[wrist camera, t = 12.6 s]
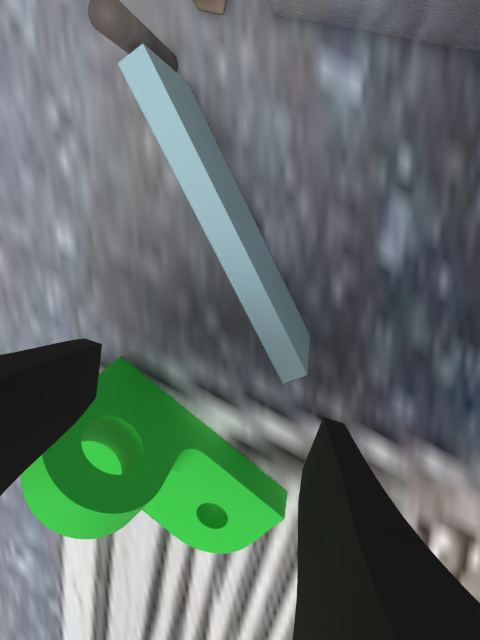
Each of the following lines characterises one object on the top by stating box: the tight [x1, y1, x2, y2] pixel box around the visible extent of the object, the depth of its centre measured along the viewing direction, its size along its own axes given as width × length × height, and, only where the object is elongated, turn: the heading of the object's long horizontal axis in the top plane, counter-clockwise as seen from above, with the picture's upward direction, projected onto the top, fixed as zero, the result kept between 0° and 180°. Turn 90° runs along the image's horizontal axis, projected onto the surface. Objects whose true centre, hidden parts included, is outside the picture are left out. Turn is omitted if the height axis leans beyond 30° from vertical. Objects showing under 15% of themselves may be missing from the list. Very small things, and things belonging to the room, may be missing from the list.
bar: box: [118, 44, 310, 384], centre depth 14 cm, size 1×12×4 cm, turn 27°
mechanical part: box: [21, 356, 287, 553], centre depth 18 cm, size 12×6×8 cm, turn 51°
